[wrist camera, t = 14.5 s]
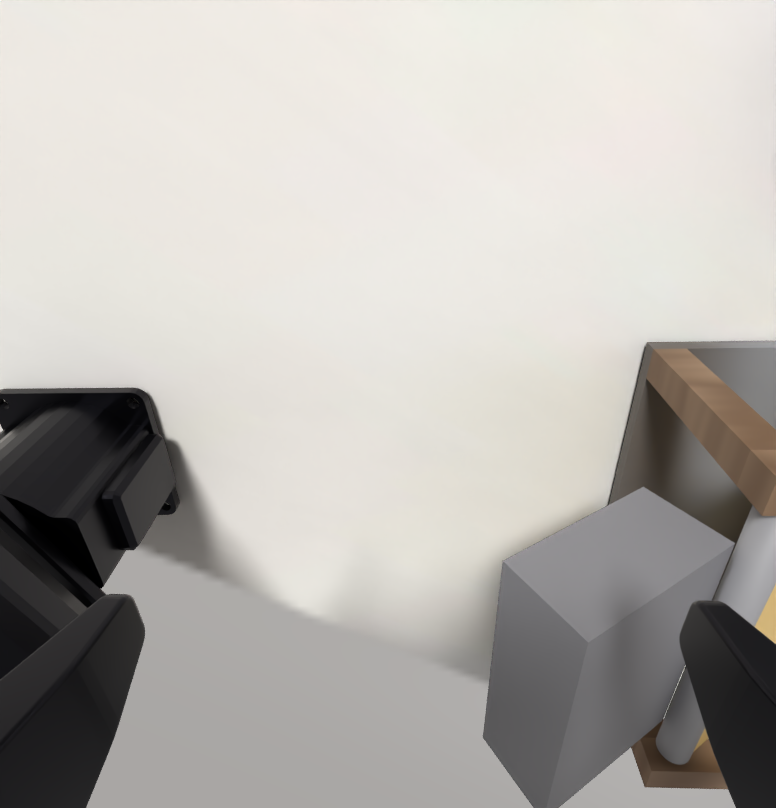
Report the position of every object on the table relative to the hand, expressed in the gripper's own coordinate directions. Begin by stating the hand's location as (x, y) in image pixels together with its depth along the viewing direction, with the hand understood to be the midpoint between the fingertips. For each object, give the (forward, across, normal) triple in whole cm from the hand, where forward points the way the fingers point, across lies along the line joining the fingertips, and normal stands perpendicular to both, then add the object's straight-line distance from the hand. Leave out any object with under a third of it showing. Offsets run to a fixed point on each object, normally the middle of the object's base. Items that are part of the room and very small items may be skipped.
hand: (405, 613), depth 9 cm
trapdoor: (+10, -10, +9) cm, 17 cm away
